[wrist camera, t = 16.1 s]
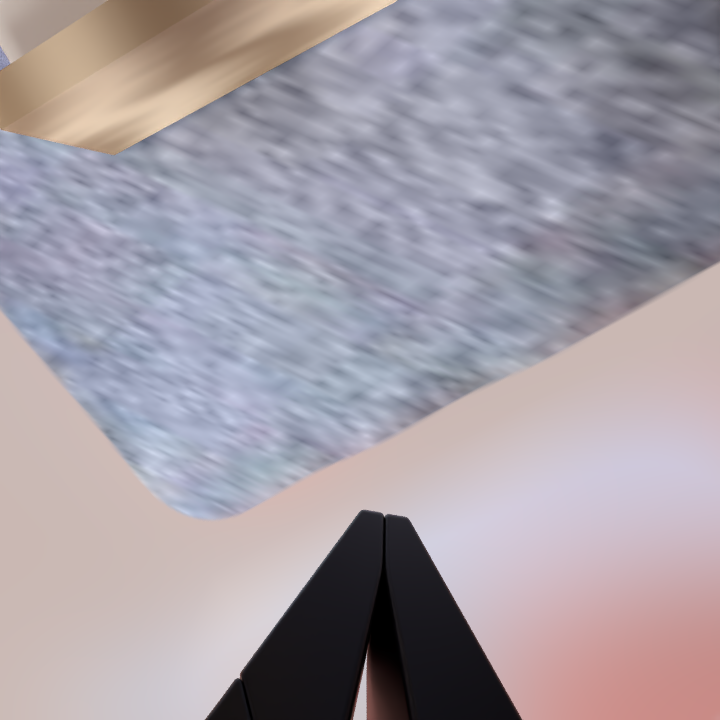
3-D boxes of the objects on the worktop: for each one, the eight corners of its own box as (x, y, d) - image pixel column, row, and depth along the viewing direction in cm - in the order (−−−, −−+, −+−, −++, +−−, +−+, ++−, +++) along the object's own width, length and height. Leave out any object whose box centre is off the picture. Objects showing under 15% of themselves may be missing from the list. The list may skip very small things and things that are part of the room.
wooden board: (397, -46, 13) (395, -188, 9) (408, -6, 14) (413, -122, 9) (98, 125, 16) (-25, 86, 12) (114, 155, 17) (1, 130, 12)
